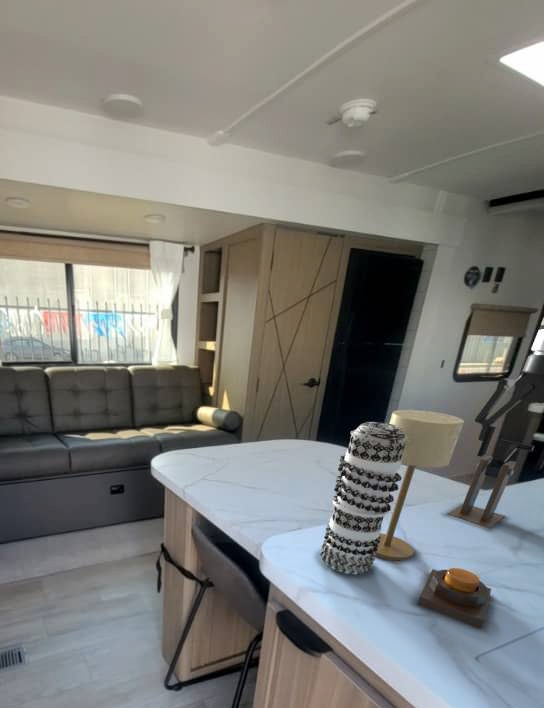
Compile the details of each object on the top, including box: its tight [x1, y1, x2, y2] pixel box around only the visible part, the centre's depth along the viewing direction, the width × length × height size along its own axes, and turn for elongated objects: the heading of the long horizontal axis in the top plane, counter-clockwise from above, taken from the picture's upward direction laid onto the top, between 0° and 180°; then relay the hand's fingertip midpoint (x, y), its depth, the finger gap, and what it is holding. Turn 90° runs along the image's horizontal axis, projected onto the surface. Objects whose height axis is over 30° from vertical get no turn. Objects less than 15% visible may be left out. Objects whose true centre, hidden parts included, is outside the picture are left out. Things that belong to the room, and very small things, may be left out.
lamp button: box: [444, 567, 481, 592], centre depth 61 cm, size 4×4×2 cm
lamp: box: [374, 409, 465, 562], centre depth 71 cm, size 10×10×26 cm
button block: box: [416, 568, 492, 630], centre depth 62 cm, size 10×8×4 cm
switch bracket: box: [446, 455, 517, 529], centre depth 87 cm, size 10×8×14 cm
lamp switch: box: [485, 439, 535, 479], centre depth 86 cm, size 12×6×2 cm, turn 126°
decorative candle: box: [319, 421, 409, 575], centre depth 66 cm, size 9×9×25 cm
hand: (508, 461), depth 90 cm, fingers open, 10 cm apart
